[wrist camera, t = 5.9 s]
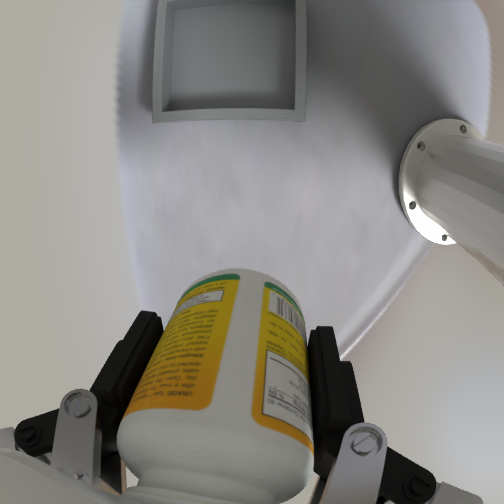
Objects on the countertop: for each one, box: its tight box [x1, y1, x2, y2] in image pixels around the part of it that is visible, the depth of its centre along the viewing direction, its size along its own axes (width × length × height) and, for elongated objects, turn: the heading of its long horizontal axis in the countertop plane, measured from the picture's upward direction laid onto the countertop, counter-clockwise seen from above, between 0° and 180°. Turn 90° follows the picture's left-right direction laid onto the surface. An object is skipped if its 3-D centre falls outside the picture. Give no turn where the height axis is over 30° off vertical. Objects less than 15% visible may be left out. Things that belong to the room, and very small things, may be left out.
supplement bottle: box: [117, 269, 314, 504], centre depth 8 cm, size 5×5×10 cm
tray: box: [152, 0, 307, 123], centre depth 18 cm, size 12×12×3 cm
